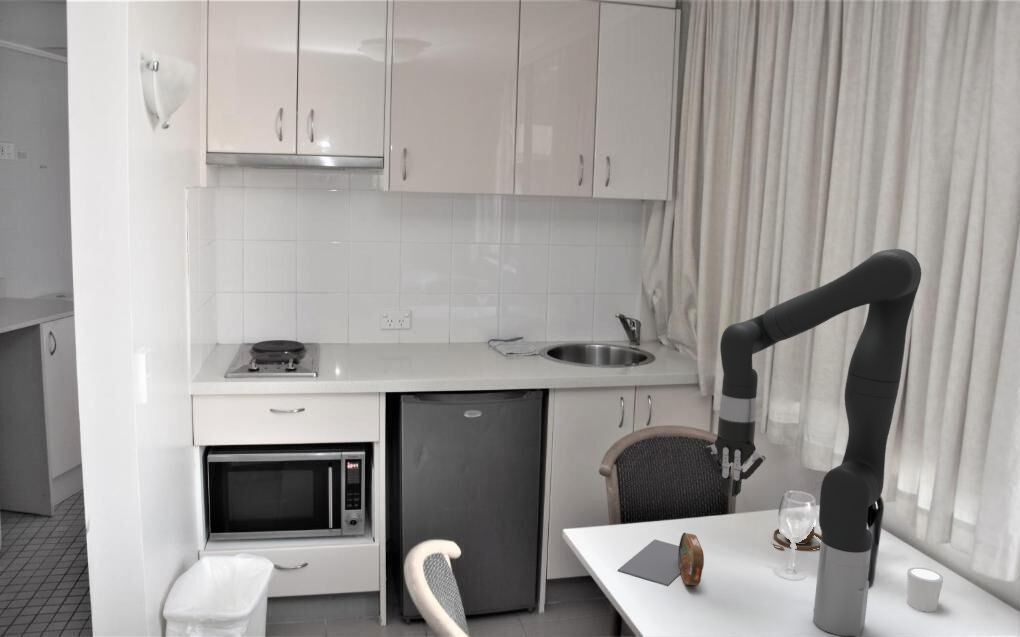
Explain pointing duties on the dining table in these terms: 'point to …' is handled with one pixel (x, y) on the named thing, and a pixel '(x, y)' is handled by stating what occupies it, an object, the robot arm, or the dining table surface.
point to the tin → (690, 559)
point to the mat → (655, 563)
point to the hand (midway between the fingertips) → (730, 494)
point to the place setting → (799, 542)
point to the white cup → (923, 588)
